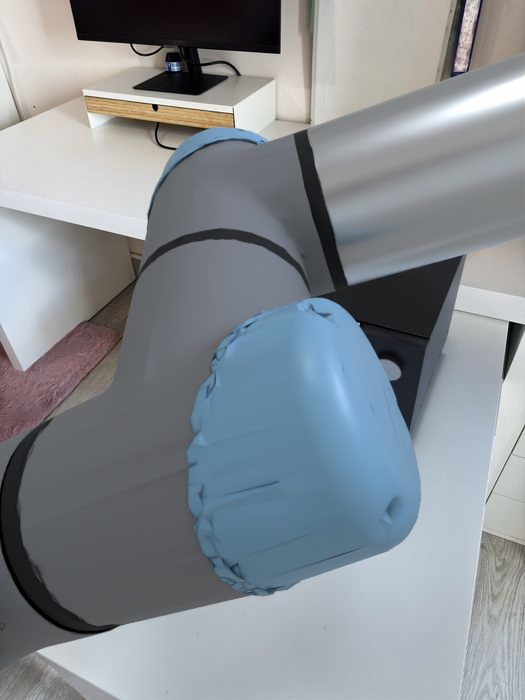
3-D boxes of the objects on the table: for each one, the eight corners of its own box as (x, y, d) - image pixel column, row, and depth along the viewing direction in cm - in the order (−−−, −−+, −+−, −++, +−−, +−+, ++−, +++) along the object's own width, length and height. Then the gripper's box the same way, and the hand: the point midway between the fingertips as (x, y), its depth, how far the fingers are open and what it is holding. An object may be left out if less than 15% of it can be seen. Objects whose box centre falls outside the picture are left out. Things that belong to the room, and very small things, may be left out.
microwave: (404, 452, 63) (423, 354, 50) (251, 398, 71) (233, 302, 59) (447, 334, 76) (471, 233, 63) (313, 300, 85) (310, 204, 72)
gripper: (-11, 470, 34) (168, 428, 53) (344, 656, 24) (402, 522, 44) (12, 362, 33) (185, 359, 52) (387, 510, 23) (427, 440, 43)
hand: (284, 433), depth 48 cm, fingers open, 13 cm apart
